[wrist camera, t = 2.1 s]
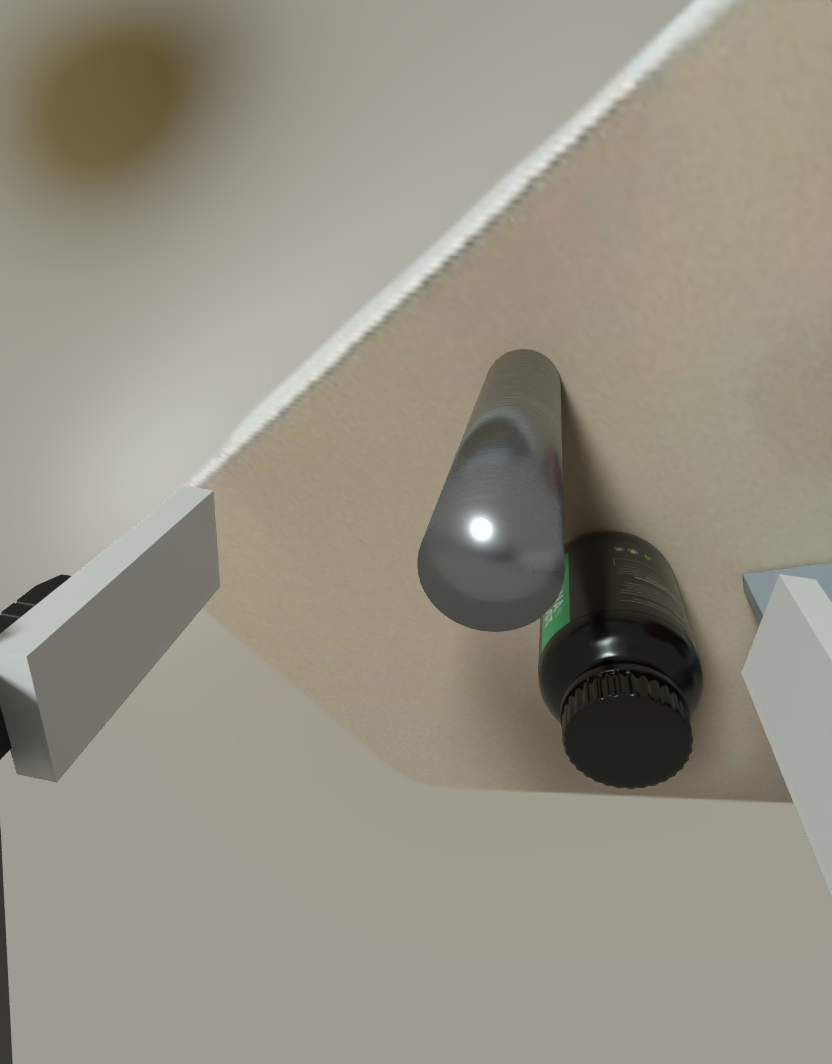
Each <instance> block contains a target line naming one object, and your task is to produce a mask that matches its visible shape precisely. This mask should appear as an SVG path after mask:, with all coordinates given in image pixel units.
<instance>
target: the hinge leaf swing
mask: <svg viewBox="0 0 832 1064" xmlns="http://www.w3.org/2000/svg"><path fill="white" fill-rule="evenodd" d="M779 574H782V575H789V576H795V577H802V578H809V579H816V580H817V582H818V583H819V585H820V586H821V588H822V589H823V591H824V592H825V593H826V595H827V596H828V598H829V599H830V601H831V602H832V563H824V564H817V565H809V566H801V567H794V568H786V569H778V570H771V571H763V572H756V573H748V574H743V583H744V592H745V594H746V596H747V598H748V600H749V602H750V604H751V606H752V608H753V611H754V613H755V615H756V617H757V619H758V621H759V623H761V620H762V618H763V615H764V612H765V610H766V607H767V605H768V602H769V599H770V597H771V594H772V591H773V589H774V586H775V584H776V581H777V578H778V576H779Z"/></svg>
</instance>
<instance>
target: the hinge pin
mask: <svg viewBox="0 0 832 1064" xmlns="http://www.w3.org/2000/svg"><path fill="white" fill-rule="evenodd" d="M418 574H419V578H420V582H421V585H422V587H423V589H424V591H425V593H426V595H427V596H428V598H429V599H430V601H431V602H432V603H433V605H434V606H435V607H436V608H437V609H438V610H439V611H440V612H442V613H443V614H444V615H446V616H447V617H448V618H450V619H452V620H453V621H455V622H457V623H459V624H461V625H463V626H466V627H469V628H472V629H477V630H481V631H491V632H500V631H509V630H513V629H518V628H521V627H523V626H526V625H528V624H530V623H532V622H534V621H536V620H537V619H539V618H540V617H542V616H543V615H544V614H545V613H546V612H547V611H548V610H549V609H550V608H551V607H552V606H553V605H554V603H555V601H556V600H557V598H558V596H559V594H560V592H561V590H562V586H563V583H564V576H565V560H564V515H563V469H562V424H561V382H560V376H559V373H558V371H557V369H556V367H555V365H554V364H553V363H552V362H551V360H549V359H548V358H547V357H546V356H544V355H543V354H541V353H539V352H536V351H533V350H527V349H520V350H514V351H511V352H508V353H506V354H504V355H503V356H501V357H500V358H499V359H498V360H496V361H495V363H494V364H493V365H492V366H491V368H490V370H489V372H488V374H487V376H486V379H485V382H484V384H483V387H482V389H481V392H480V394H479V397H478V400H477V402H476V405H475V407H474V410H473V412H472V415H471V417H470V420H469V423H468V425H467V428H466V430H465V433H464V435H463V438H462V440H461V443H460V446H459V448H458V451H457V453H456V456H455V458H454V461H453V464H452V466H451V469H450V471H449V474H448V476H447V479H446V481H445V484H444V487H443V489H442V492H441V494H440V497H439V499H438V502H437V505H436V507H435V510H434V512H433V515H432V517H431V520H430V522H429V525H428V528H427V530H426V533H425V535H424V538H423V540H422V543H421V546H420V549H419V554H418Z"/></svg>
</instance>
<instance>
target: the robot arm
mask: <svg viewBox="0 0 832 1064" xmlns="http://www.w3.org/2000/svg"><path fill="white" fill-rule="evenodd" d="M219 587H220V578H219V564H218V549H217V535H216V521H215V506H214V492H213V490H207V489H200V488H193V487H186V486H183V487H182V488H181V489H180V490H178V491H177V492H176V493H175V494H173V495H172V496H171V497H170V498H168V499H167V500H166V501H165V502H163V503H162V504H161V505H160V506H158V507H157V508H156V509H155V510H153V511H152V512H151V513H150V514H149V515H147V516H146V517H145V518H143V519H142V520H141V521H140V522H139V523H137V524H136V525H135V526H134V527H132V528H131V529H130V530H129V531H127V532H126V533H125V534H124V535H122V536H121V537H120V538H119V539H117V540H116V541H115V542H114V543H112V544H111V545H110V546H109V547H107V548H106V549H105V550H104V551H102V552H101V553H100V554H99V555H98V556H96V557H95V558H94V559H93V560H91V561H90V562H89V563H88V564H86V565H85V566H84V567H83V568H81V569H80V570H79V571H78V572H76V573H75V574H74V575H73V576H68V575H59V576H57V577H55V578H53V579H50V580H48V581H46V582H43V583H41V584H39V585H36V586H35V587H34V588H32V589H31V590H30V591H29V592H27V593H26V594H25V595H23V596H22V597H21V598H19V599H18V600H17V603H13V604H11V605H10V606H9V607H7V608H6V609H5V610H4V611H2V613H1V615H0V759H1V758H2V757H3V756H4V755H5V754H6V753H7V752H8V751H9V750H10V751H11V754H12V758H13V762H14V765H15V769H16V773H17V774H19V775H24V776H29V777H34V778H39V779H43V780H48V781H53V782H57V781H58V780H59V779H60V778H61V777H62V775H63V774H64V773H65V772H66V771H67V770H68V768H69V767H70V766H71V765H72V764H73V762H74V761H75V760H76V759H77V758H78V756H79V755H80V754H81V753H82V752H83V750H84V749H85V748H86V747H87V746H88V744H89V743H90V742H91V741H92V740H93V738H94V737H95V736H96V735H97V734H98V732H99V731H100V730H101V729H102V728H103V726H104V725H105V724H106V723H107V721H108V720H109V719H110V718H111V717H112V716H113V714H114V713H115V712H116V711H117V710H118V708H119V707H120V706H121V705H122V704H123V702H124V701H125V700H126V699H127V698H128V696H129V695H130V694H131V693H132V692H133V690H134V689H135V688H136V687H137V686H138V684H139V683H140V682H141V681H142V680H143V678H144V677H145V676H146V675H147V674H148V672H149V671H150V670H151V669H152V667H153V666H154V665H155V664H156V663H157V662H158V660H159V659H160V658H161V657H162V655H163V654H164V653H165V652H166V651H167V649H168V648H169V647H170V646H171V645H172V644H173V642H174V641H175V640H176V639H177V638H178V636H179V635H180V634H181V633H182V632H183V630H184V629H185V628H186V627H187V626H188V624H189V623H190V622H191V621H192V620H193V618H194V617H195V616H196V615H197V614H198V612H199V611H200V610H201V609H202V608H203V606H204V605H205V604H206V603H207V602H208V600H209V599H210V598H211V597H212V596H213V594H214V593H215V592H216V591H217V590H218V588H219ZM742 676H743V678H744V681H745V683H746V686H747V688H748V691H749V693H750V696H751V698H752V701H753V703H754V706H755V708H756V711H757V713H758V716H759V718H760V721H761V723H762V726H763V728H764V730H765V733H766V735H767V738H768V740H769V743H770V745H771V748H772V750H773V753H774V755H775V758H776V760H777V763H778V765H779V768H780V770H781V773H782V775H783V778H784V780H785V783H786V785H787V788H788V790H789V793H790V795H791V798H792V800H793V803H794V805H795V808H796V810H797V812H798V815H799V818H800V820H801V823H802V825H803V828H804V830H805V832H806V835H807V837H808V840H809V843H810V845H811V848H812V850H813V853H814V855H815V858H816V860H817V862H818V865H819V868H820V870H821V873H822V875H823V877H824V880H825V883H826V885H827V888H828V890H829V892H830V895H831V898H832V602H831V601H830V599H829V598H828V596H827V595H826V593H825V592H824V591H823V589H822V588H821V586H820V585H819V583H818V582H817V580H816V579H809V578H802V577H795V576H789V575H782V574H779V576H778V578H777V581H776V584H775V586H774V589H773V591H772V594H771V597H770V599H769V602H768V605H767V607H766V610H765V612H764V615H763V618H762V620H761V623H760V626H759V628H758V631H757V633H756V636H755V639H754V641H753V644H752V646H751V649H750V652H749V654H748V657H747V660H746V662H745V665H744V667H743V670H742ZM0 1064H12V1046H11V1026H10V1006H9V987H8V966H7V947H6V928H5V908H4V888H3V868H2V849H1V830H0Z"/></svg>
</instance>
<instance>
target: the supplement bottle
mask: <svg viewBox="0 0 832 1064" xmlns="http://www.w3.org/2000/svg"><path fill="white" fill-rule="evenodd" d="M564 560H565V576H564V583H563V586H562V590H561V592H560V594H559V596H558V598H557V600H556V601H555V603H554V605H553V606H552V607H551V608H550V609H549V610H548V611H547V612H546V613H545V614H544V615H543V616H542V617H540V638H539V664H538V677H539V687H540V691H541V694H542V697H543V700H544V702H545V704H546V706H547V707H548V709H549V710H550V712H551V713H552V714H553V716H554V717H555V718H556V719H557V720H558V721H559V722H560V723H561V726H562V741H563V745H564V746H565V753H566V754H567V755H568V756H569V759H570V762H571V763H572V764H574V765H575V766H576V768H577V770H579V771H581V772H583V773H584V775H585V776H586V777H590V778H592V779H593V780H594V781H596V782H600V783H603V784H605V785H606V786H614V787H617V788H628V789H633V788H645V787H647V786H655V785H657V784H658V783H660V782H665V781H667V780H668V778H670V777H673V776H675V775H676V773H677V772H678V771H679V770H681V769H683V767H684V764H685V763H686V762H687V761H688V760H689V755H690V753H691V752H692V743H693V736H692V732H691V731H692V729H691V724H690V717H691V715H692V714H693V712H694V711H695V709H696V707H697V705H698V703H699V700H700V697H701V694H702V689H703V671H702V667H701V662H700V658H699V655H698V651H697V648H696V645H695V642H694V638H693V635H692V632H691V629H690V625H689V622H688V619H687V616H686V612H685V609H684V606H683V603H682V600H681V596H680V593H679V590H678V587H677V583H676V581H675V578H674V575H673V572H672V569H671V568H670V566H669V564H668V562H667V560H666V559H665V557H664V556H663V555H662V554H661V552H660V551H658V550H657V549H656V548H655V547H654V546H653V545H651V544H650V543H648V542H647V541H645V540H643V539H641V538H639V537H637V536H634V535H631V534H628V533H623V532H616V531H601V532H594V533H590V534H586V535H583V536H581V537H578V538H576V539H574V540H572V541H570V542H569V543H567V544H566V545H565V546H564Z"/></svg>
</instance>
